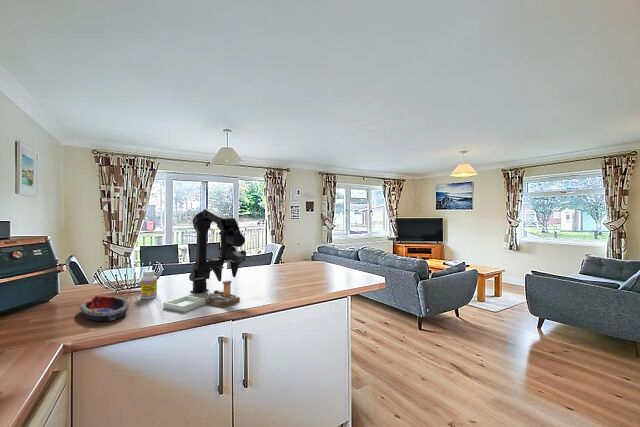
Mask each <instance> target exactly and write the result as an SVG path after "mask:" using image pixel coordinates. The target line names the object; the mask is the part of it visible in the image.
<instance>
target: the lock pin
mask: <svg viewBox="0 0 640 427" xmlns="http://www.w3.org/2000/svg"><path fill="white" fill-rule="evenodd" d="M222 284H223V292H224V297H226V298H228V297H231V294H232V293H231V288H232V287H231V284H232V280H223V281H222Z"/></svg>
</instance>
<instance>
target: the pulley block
mask: <svg viewBox="0 0 640 427" xmlns="http://www.w3.org/2000/svg"><path fill="white" fill-rule="evenodd" d="M203 298H204V299H206V304H205V305H207V304H208V305H207V306H214V307H219V308H226V307H228V306H232V305H234V304H236V303H238V302H241V301H240V300H241V298H240V296H237V294H233V293H231V297H228V298H226V297H224V290H217V289H216V290H214V291H213V290H212V291H211V292H208V294H207V296H206V297H203Z"/></svg>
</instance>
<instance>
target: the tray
mask: <svg viewBox="0 0 640 427" xmlns="http://www.w3.org/2000/svg"><path fill="white" fill-rule="evenodd" d="M204 298H205V297H198V296H192V295H187V294H186V295H184V296H183V295H182V296H180V297H177V298H174V299H172V300H168V301H164V302H162V303H163V304H162V307H163V310H169V311H174V312H177V313H187V312H189V311H191V310H193V309H197V308H200V307H202V306H204V305H207V304H206V299H204Z"/></svg>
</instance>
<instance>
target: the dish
mask: <svg viewBox="0 0 640 427" xmlns="http://www.w3.org/2000/svg"><path fill="white" fill-rule="evenodd" d="M129 307H130V302H129V301H128V300H127V299H126V298H124V297H121V296H117V295H116V296H114V295H93V296H91V297H89V298H86V299H85V300H84V301H82V302H81V303H80V305H79V310H80V311H81V313H82V315H83V317H85V319H89V320H91V321H97V322H110V321H114V320H117V319H119V318H121V317H123V316H125V314H126V313H127V311H128V310H129Z"/></svg>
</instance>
